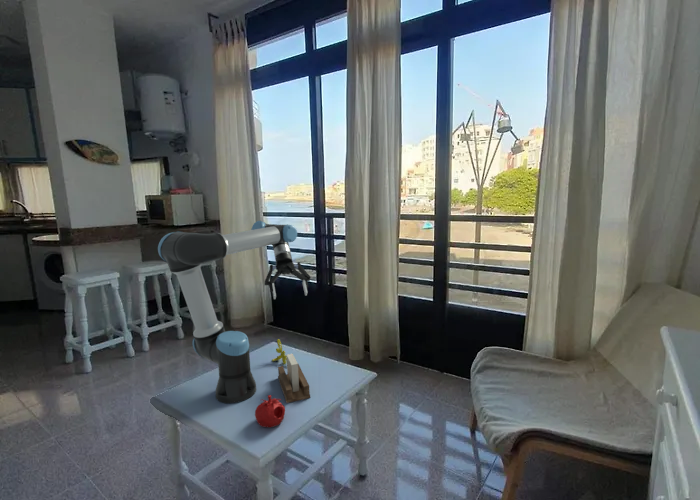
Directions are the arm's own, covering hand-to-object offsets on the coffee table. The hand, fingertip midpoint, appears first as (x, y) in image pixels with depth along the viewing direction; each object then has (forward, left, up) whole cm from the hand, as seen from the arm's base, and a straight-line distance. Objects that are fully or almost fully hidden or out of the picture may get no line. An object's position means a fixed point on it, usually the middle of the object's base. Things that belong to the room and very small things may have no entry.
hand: (290, 295), depth 150 cm
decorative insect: (-4, +8, -34) cm, 35 cm away
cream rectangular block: (-4, -15, -33) cm, 36 cm away
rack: (-4, -15, -34) cm, 37 cm away
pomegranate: (-15, -34, -34) cm, 50 cm away
